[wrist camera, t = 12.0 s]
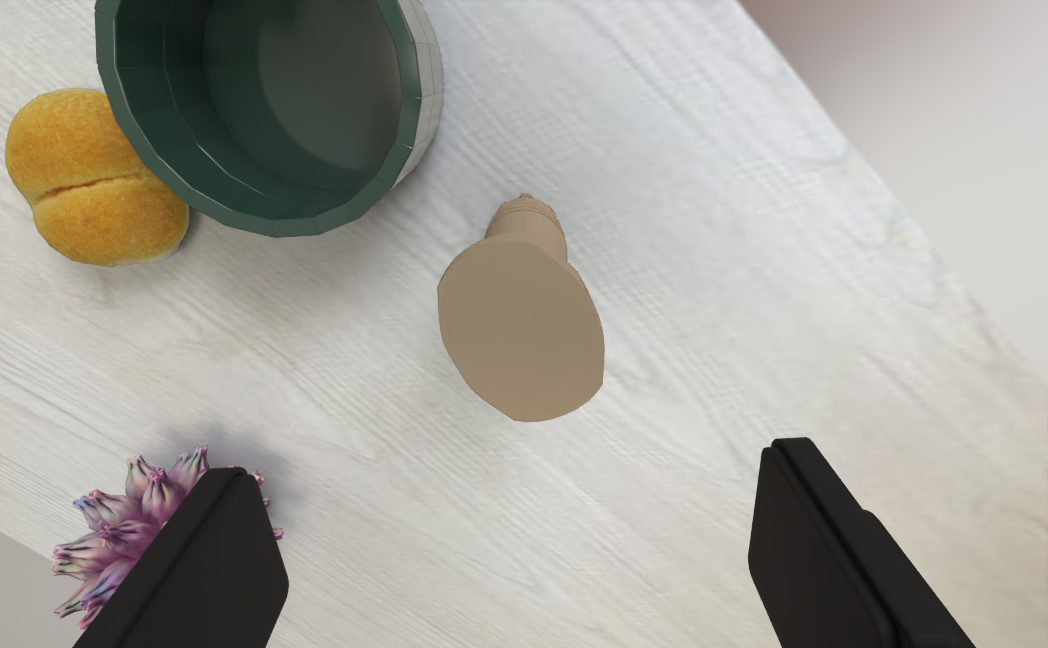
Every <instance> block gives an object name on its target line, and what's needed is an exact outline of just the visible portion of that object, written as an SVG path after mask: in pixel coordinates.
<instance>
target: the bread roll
mask: <svg viewBox="0 0 1048 648" xmlns="http://www.w3.org/2000/svg"><path fill="white" fill-rule="evenodd" d="M5 162H6V167H7V170H8V173H9V175H10V177H11V179H12V181H13V183H14V185H15V186H16V187H17V189H18V190H19V192H20V193H21V194H22V195H23V196H24V198H25V199H26V200H27V202H28V203H29V205H30V207H31V209H32V211H33V218H34V222H35V224H36V227H37V229H38V232H39V233H40V234H41V235H42V237H43V238H44V239H45V240H46V242H47V243H48V244H49V246H51V247H52V248H54V249H55V250H56V251H58V252H59V253H61V254H63V255H64V256H66V257H67V258H69V259H71V260H73V261H77V262H81V263H85V264H93V265H100V266H106V267H113V266H117V265H129V264H135V263H146V262H151V261H156V260H162V259H165V258H168V257H170V256H172V255H174V254H175V253H176V252H177V250H178V248H179V245H180V243H181V240H182V239H183V237H184V236H185V233H186V231H187V228H188V225H189V212H190V211H189V205H187V204H186V203H184V201H182V200H181V199H180V198H178V197H177V196H176V195H175V194H174V193H173V192H172V191H171V190H170V189H169V188H168V187H167V186H166V185H165V184H164V183H163V182H161V181H160V180H159V179H158V178H157V177H156V176H155V175H154V174H153V173H152V172H151V171H150V170H149V169H148V168H147V167H146V166H145V165H144V164H143V163H142V161H141V160H140V158H139V157H138V155H137V154H136V152H135V151H134V149H133V147H132V146H131V144H130V143H129V141H128V140H127V138H126V137H125V135H124V134H123V132H122V130H121V129H120V127H119V126H118V124H117V123H116V121H115V117H114V116H113V113H112V110H111V107H110V104H109V100H108V97H107V94H105V93H102V92H99V91H95V90H91V89H86V88H66V89H60V90H56V91H52V92H49V93H45V94H42V95H39V96H37V97H36V98H34V99H33V100H31V101H30V102H29V103H28V104H26V105H25V106H24V107H23V108H22V109H21V110H20V111H19V112H18V113H17V114H16V116H15V117H14V118H13V120H12V122H11V125H10V127H9V131H8V135H7V140H6V148H5Z"/></svg>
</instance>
